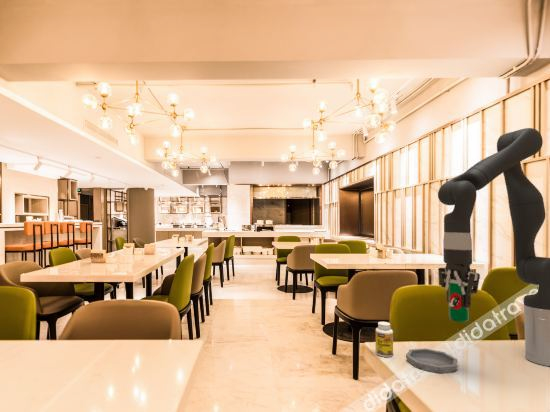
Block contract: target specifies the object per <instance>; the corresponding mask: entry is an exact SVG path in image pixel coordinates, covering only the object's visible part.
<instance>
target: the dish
mask: <svg viewBox="0 0 550 412" xmlns="http://www.w3.org/2000/svg"><path fill="white" fill-rule="evenodd" d="M405 358H406V359H407V362H408V363H409V365H411V366H413V367H414V368H417V369H419V370H422V369H423V370H422V371H425V370H426V372H429V373H436V374H449V373H454V372H456V371H457V370H458V360H459V359H458V358H456V357H454V356H452V355H450V354H448V353H447V352H445V351H441V350H435V349H429V348H414V349H412V348H411V349H409V350H408V352H406V354H405Z"/></svg>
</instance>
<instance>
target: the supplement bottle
mask: <svg viewBox="0 0 550 412" xmlns="http://www.w3.org/2000/svg"><path fill="white" fill-rule="evenodd" d="M377 325H378V326H377V327H376V328H375V353H376V355H378V356H380V357H383V358H390V357H392V356H393V355H394V330H393V329H391V323H390V322H387V321H378V322H377Z"/></svg>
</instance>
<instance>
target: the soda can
mask: <svg viewBox="0 0 550 412" xmlns="http://www.w3.org/2000/svg"><path fill="white" fill-rule="evenodd" d="M462 283H467V282H462ZM465 290H467V286H465ZM469 315H470V314H469V308H463V307H462V292H461V287H459V286H458V283H457V280H455V279H450V281H449V303H448V318H449V319H450V320H451V321H453V322H458V323H467V322H468V321H469Z"/></svg>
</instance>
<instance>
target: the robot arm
mask: <svg viewBox="0 0 550 412" xmlns="http://www.w3.org/2000/svg"><path fill="white" fill-rule="evenodd" d="M543 140H544V139H543V136H542V134H541V133H540V131H538V130H537V129H535V128H531V127H525V128H521V129H517V130H514V131H510V132H507V133H504V134H502V135H500V136H499V137H498V139H497V142H496V151H497V152H496V153H493V154H492V155H489V156H487V157H485V158H483V159H481V160H480V161H478V162H476V163H475V164H473V166H471V167H470V168H468V169H466V171H465V172H462V173H461V174H459V175H457V176H454V177H453V178H451V179H449V180H447V181H445V182H444V183H443V184H441V186H440V187H439V189H438V191H437V198H438V200H439V202H440V203H442V204H443V205H445V206H454V207H453V208H452V209H453V210H452V211H451V212H449V213H446V214H445V215H444V218H443V240H442V241H443V243H442V244H443V246H442V247H443V252H442V253H443V262H444V263H445V264H446V265H445V267H438V270H437V271H438V276H439V281H440V286H441V288H444V289H445V290H446V301H447V304H449V281H450V279H455V280H457V283H458V286H459V287H461V292H462V307H463V308H468V309H469V308H471V305H472V302H471V301H472V300H471V299H472V295H473V294H477V293H478V289H479V283H480V278H481V274H480V273H478V272H476V273H475V272H473V271H472V270H471V269H472V268H471V267H470V266H471V265H472V264H473V241H472V233H471V232H472V231H471V229H472V228H471V219H472V215H473V213H474V208H475V204H476V201H477V191H480V190H481V189H483V188H485V187H486V186H487V185H488V184H490V183H491V182H493V181H494V180H495V179H496V178H497V177H499V176H500V175H502V174H503V178H504V183H505V187H506V193H507V200H508V209H509V214H510V220H511V226H512V231H513V233H512V234H513V240H514V254H515V255H514V258H515V270H516V274H517V277H518V278H519V279H520V281H521V282H523V283H524V284H525V283H526V284H530V285H535V286H538V287H537V292H536V293H533V294H527V295H526V294H525V295H524V296H523V313H524V315H523V316H524V318H523V319H524V321H523V322H524V349H525V350H524V352H525V353H524V354H525V358H526V359H527V360H528V361H530V362H531V363H534V364H538V365H541V366H547V367H550V257H546V256H545V257H543V256H537V255H536V253H535V252H536V250H535V249H536V248H535V242H536V238H537V235H538V233H540V232H539V231H540V230H541V228H542V226H543V224H544V222H545V219H546V209H545V208H546V207H545V203H544V197H543V195H542V193H541V191H540V190H539V189H538V188H537V186H536V185H535V184H533V183H532V182H531V180H530V179H529V178H528V177H527V176H526V175H525V172H524V170H523V168H522V164H521V162H523V161H525V160H526V159H529V158H530V157H532V156H534V155H536V154H538V153H539V152H540V150H541V149H542V146H543V144H544V143H543V142H544V141H543ZM462 282H467V283H462ZM465 286H467V290H465Z"/></svg>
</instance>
